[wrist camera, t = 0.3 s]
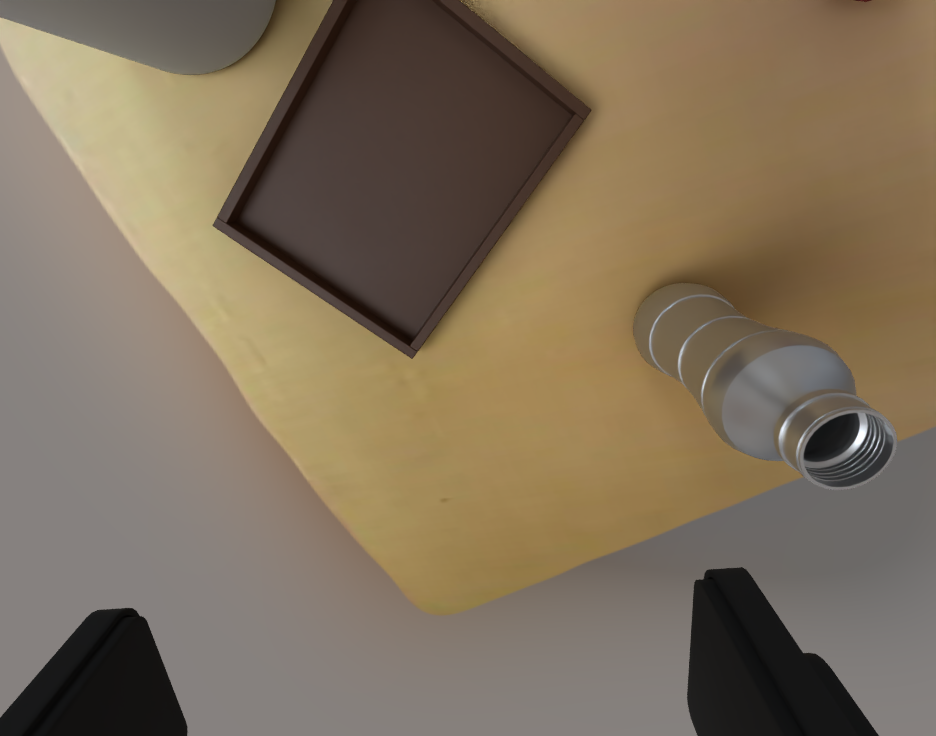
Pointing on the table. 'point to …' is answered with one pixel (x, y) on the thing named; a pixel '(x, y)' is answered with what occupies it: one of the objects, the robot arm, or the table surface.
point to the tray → (398, 160)
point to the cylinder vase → (153, 28)
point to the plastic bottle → (765, 387)
